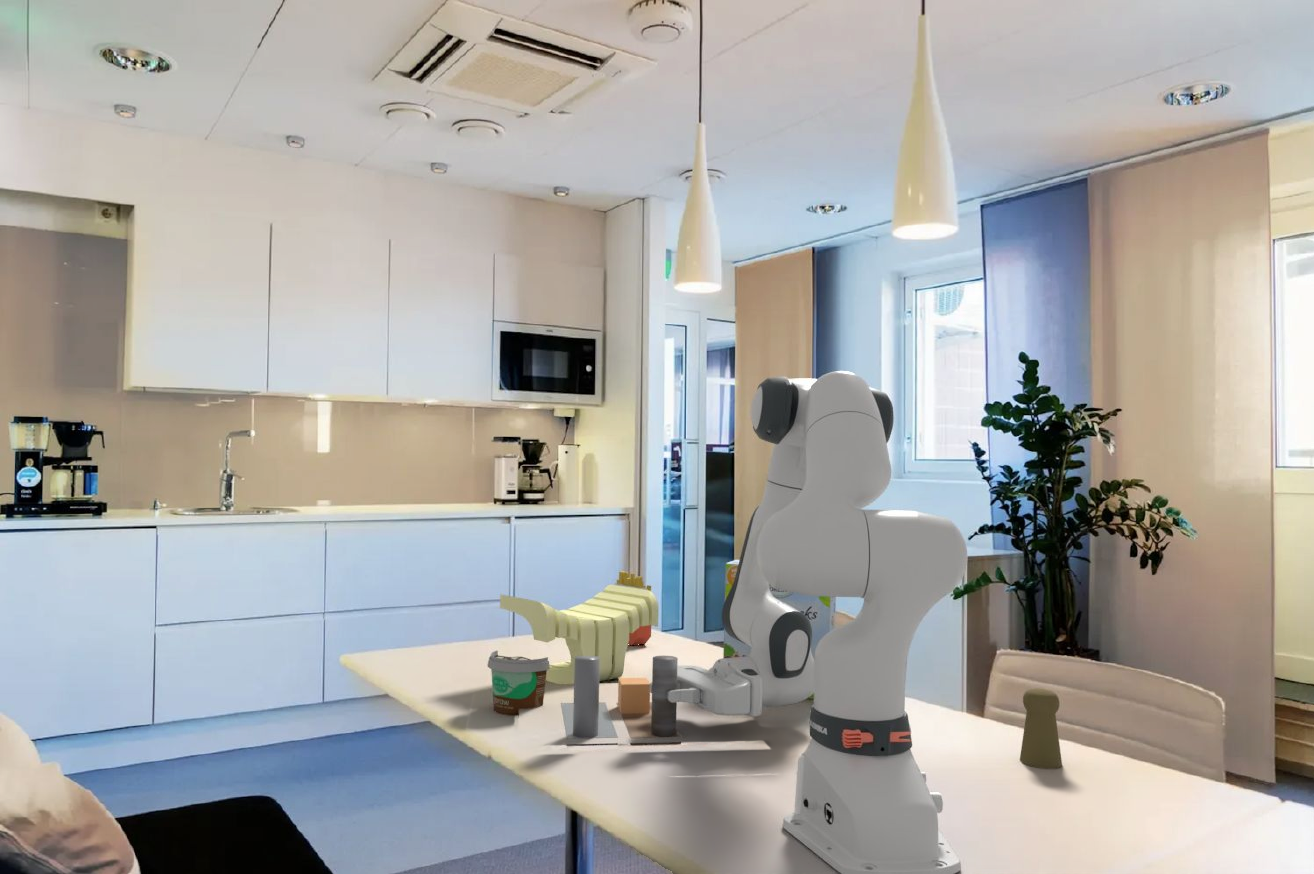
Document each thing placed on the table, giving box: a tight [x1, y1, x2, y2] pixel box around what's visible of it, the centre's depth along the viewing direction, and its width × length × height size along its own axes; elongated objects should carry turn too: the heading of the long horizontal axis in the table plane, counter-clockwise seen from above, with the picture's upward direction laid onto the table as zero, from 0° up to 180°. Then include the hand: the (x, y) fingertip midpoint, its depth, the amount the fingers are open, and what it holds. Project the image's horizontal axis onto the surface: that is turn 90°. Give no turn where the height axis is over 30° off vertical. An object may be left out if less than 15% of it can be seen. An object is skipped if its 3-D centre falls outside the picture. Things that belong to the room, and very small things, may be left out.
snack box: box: [722, 559, 837, 700], centre depth 181 cm, size 22×9×26 cm, turn 71°
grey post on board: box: [616, 655, 682, 747], centre depth 153 cm, size 22×8×13 cm, turn 9°
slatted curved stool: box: [499, 584, 659, 685], centre depth 189 cm, size 30×16×18 cm, turn 135°
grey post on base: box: [560, 656, 619, 747], centre depth 152 cm, size 22×8×13 cm, turn 9°
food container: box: [487, 650, 550, 717], centre depth 160 cm, size 12×6×10 cm, turn 62°
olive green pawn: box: [1019, 688, 1063, 770], centre depth 139 cm, size 6×6×11 cm
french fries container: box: [614, 570, 652, 646], centre depth 230 cm, size 5×11×18 cm, turn 36°
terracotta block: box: [617, 677, 651, 715], centre depth 159 cm, size 5×5×5 cm
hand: (659, 692), depth 144 cm, fingers closed on grey post on board, 4 cm apart
